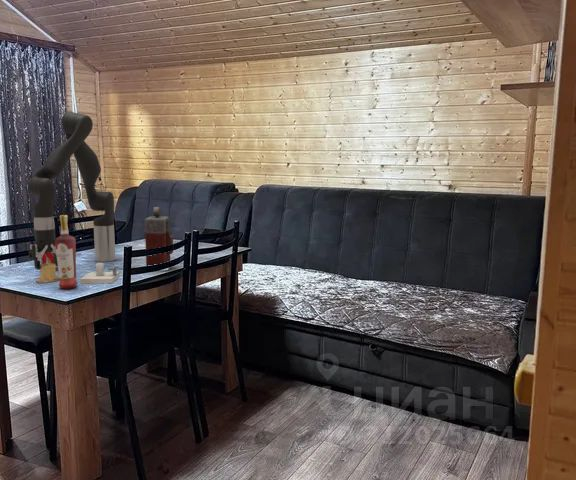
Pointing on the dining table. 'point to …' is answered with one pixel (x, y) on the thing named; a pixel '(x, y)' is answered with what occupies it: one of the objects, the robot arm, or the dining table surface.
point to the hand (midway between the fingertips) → (47, 267)
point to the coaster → (47, 280)
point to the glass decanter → (157, 237)
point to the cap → (48, 271)
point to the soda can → (47, 258)
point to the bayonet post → (100, 275)
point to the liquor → (66, 256)
